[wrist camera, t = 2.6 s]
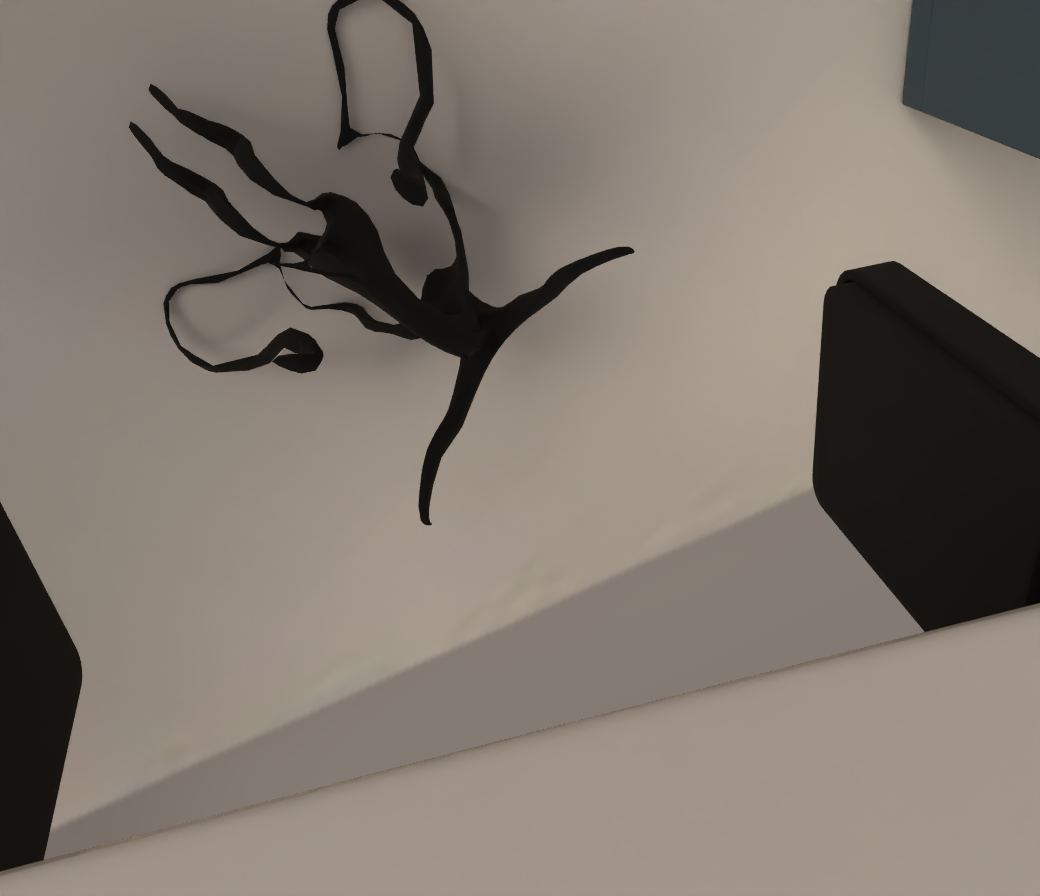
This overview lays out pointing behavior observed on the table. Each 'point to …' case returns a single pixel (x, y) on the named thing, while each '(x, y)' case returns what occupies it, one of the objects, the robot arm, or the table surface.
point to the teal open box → (978, 67)
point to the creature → (370, 257)
